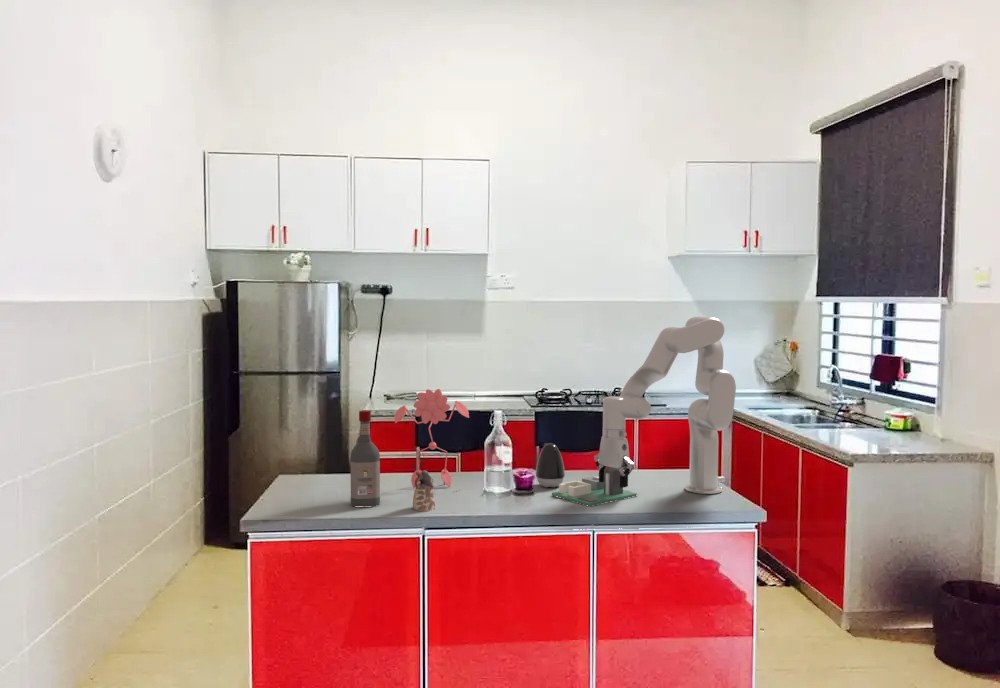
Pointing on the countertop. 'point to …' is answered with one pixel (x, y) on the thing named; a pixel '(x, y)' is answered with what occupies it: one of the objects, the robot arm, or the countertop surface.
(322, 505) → the countertop surface
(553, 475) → the dark egg-shaped speaker
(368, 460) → the liquor
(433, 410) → the figurine
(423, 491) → the figurine
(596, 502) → the board
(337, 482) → the countertop surface
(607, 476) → the plug
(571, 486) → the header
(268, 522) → the countertop surface
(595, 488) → the grey flat block
